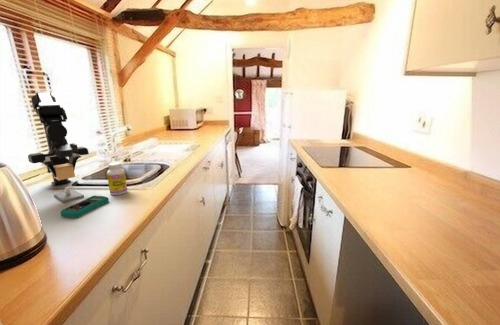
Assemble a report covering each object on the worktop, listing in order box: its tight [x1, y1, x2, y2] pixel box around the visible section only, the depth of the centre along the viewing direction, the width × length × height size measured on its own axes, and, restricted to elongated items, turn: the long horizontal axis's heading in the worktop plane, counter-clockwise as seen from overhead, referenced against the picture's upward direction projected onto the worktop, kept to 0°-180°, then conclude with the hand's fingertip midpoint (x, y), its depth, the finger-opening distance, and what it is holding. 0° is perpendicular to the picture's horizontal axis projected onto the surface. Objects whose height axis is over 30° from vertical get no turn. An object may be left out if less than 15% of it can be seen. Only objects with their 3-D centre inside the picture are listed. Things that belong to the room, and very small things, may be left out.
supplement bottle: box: [106, 161, 128, 196], centre depth 107 cm, size 7×7×13 cm
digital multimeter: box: [59, 195, 110, 219], centre depth 93 cm, size 7×15×3 cm, turn 166°
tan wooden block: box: [53, 163, 76, 180], centre depth 103 cm, size 6×6×5 cm
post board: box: [53, 186, 85, 204], centre depth 105 cm, size 12×7×4 cm, turn 52°
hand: (64, 175), depth 103 cm, fingers closed on tan wooden block, 6 cm apart
